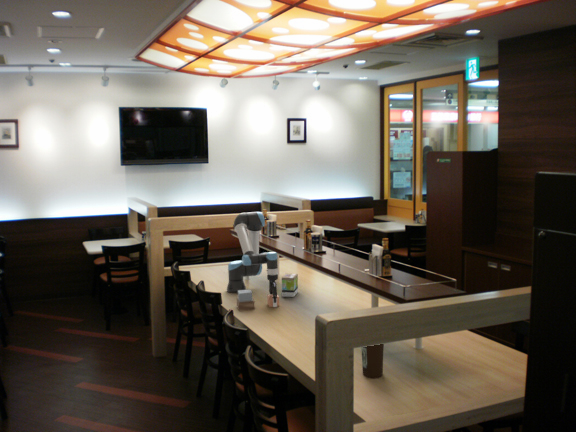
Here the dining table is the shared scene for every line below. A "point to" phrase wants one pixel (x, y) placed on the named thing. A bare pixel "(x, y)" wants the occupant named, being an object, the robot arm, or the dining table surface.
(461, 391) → the dining table surface
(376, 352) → the brown coffee cup
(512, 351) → the dining table surface
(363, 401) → the dining table surface
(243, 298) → the slate block
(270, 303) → the terracotta cube
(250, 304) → the walnut block
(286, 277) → the tea box
